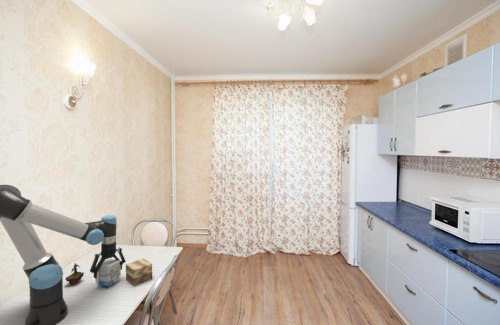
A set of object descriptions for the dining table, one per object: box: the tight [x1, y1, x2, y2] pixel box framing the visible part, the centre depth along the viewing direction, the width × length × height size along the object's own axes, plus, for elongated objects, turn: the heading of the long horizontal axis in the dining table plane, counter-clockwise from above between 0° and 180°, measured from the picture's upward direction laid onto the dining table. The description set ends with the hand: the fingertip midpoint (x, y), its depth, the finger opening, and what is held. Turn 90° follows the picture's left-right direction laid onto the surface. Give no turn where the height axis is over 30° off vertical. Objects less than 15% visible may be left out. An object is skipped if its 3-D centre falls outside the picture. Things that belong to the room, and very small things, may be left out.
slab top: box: [125, 258, 153, 279], centre depth 144 cm, size 11×11×5 cm
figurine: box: [65, 262, 85, 285], centre depth 139 cm, size 10×8×12 cm
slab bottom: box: [125, 271, 153, 287], centre depth 145 cm, size 11×11×5 cm
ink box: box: [97, 258, 121, 287], centre depth 139 cm, size 8×8×12 cm
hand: (108, 279), depth 139 cm, fingers closed on ink box, 11 cm apart
